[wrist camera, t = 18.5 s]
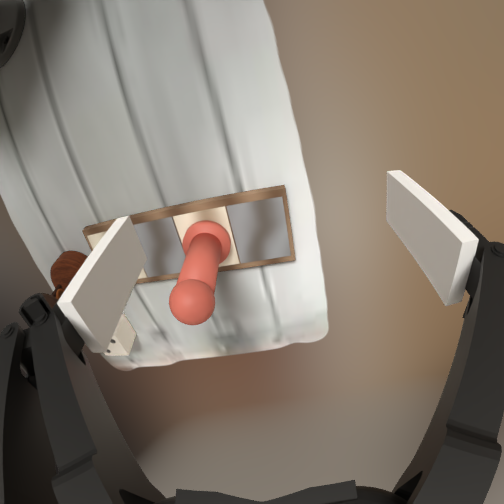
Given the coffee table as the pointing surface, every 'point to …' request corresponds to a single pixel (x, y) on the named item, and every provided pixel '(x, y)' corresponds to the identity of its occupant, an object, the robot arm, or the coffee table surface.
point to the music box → (64, 273)
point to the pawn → (199, 272)
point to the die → (122, 338)
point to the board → (220, 211)
